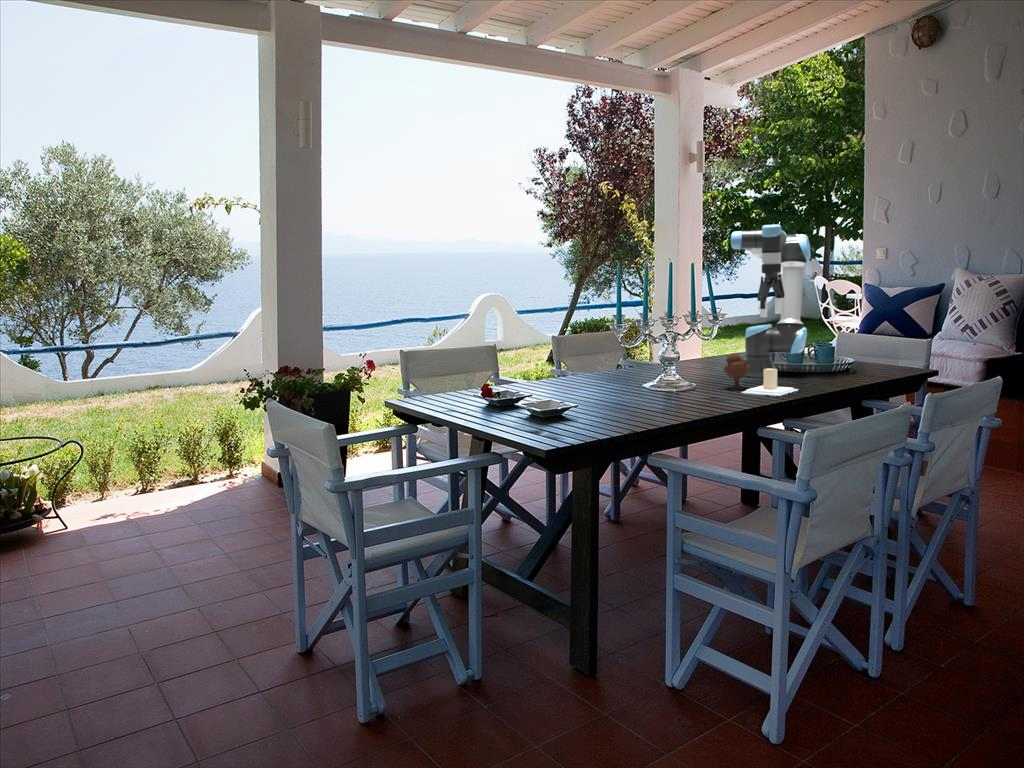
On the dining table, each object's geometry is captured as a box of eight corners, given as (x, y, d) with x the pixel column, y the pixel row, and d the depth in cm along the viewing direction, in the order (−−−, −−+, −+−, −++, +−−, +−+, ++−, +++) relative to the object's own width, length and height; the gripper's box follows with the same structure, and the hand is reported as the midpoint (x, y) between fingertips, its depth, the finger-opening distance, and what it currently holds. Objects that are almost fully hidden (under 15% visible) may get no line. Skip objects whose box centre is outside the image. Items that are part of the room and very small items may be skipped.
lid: (762, 387, 353) (762, 366, 352) (794, 389, 344) (794, 368, 343) (746, 391, 343) (746, 370, 342) (778, 394, 334) (779, 372, 332)
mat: (761, 387, 355) (761, 386, 355) (798, 390, 345) (798, 389, 345) (741, 393, 342) (741, 392, 342) (779, 396, 332) (779, 395, 331)
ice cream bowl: (744, 391, 348) (744, 354, 346) (718, 389, 355) (718, 353, 353) (754, 387, 357) (754, 352, 354) (728, 386, 363) (729, 351, 361)
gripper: (776, 261, 356) (775, 312, 360) (748, 265, 338) (748, 318, 341) (793, 261, 351) (792, 312, 355) (766, 264, 333) (766, 318, 336)
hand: (771, 315), depth 348 cm, fingers open, 13 cm apart
